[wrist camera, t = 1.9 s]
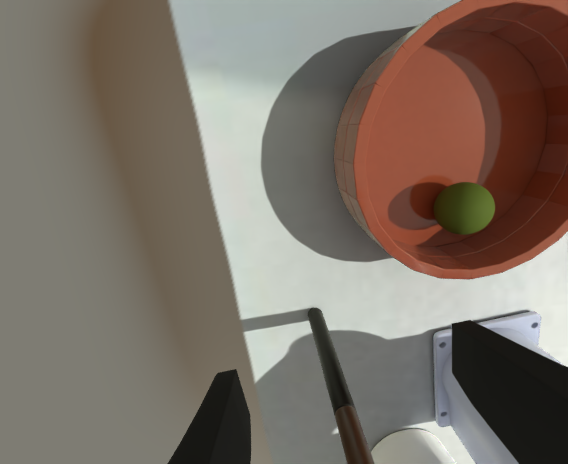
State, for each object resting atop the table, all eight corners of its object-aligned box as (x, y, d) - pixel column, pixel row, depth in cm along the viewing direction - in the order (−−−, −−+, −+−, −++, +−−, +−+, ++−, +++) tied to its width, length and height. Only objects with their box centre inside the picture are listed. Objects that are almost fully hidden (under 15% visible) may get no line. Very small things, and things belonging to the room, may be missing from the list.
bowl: (537, 229, 20) (602, 252, 16) (347, 269, 20) (368, 301, 16) (560, -1, 16) (655, -43, 12) (318, 47, 16) (336, 19, 12)
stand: (322, 318, 21) (357, 418, 14) (309, 321, 21) (335, 423, 14) (320, 306, 21) (354, 402, 13) (306, 309, 21) (333, 407, 13)
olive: (470, 220, 19) (507, 236, 16) (424, 230, 19) (453, 247, 16) (471, 173, 18) (510, 181, 15) (422, 183, 18) (453, 193, 15)
